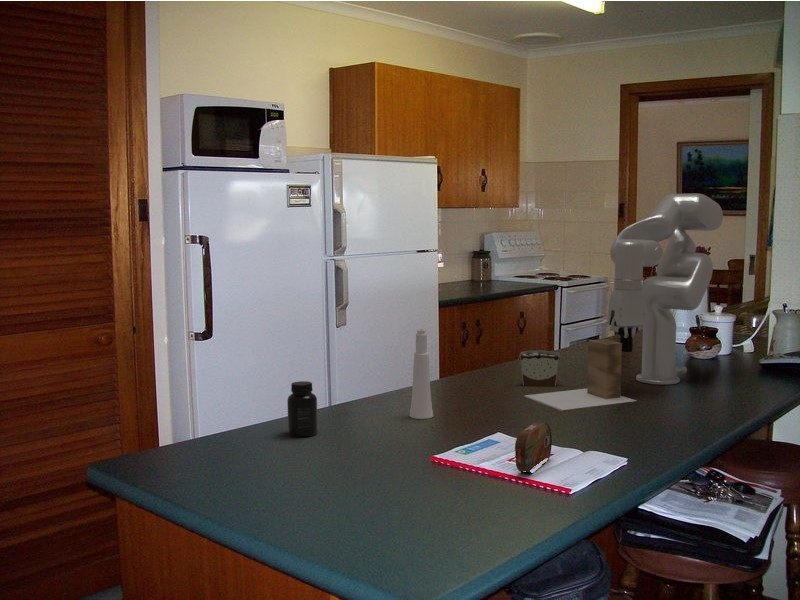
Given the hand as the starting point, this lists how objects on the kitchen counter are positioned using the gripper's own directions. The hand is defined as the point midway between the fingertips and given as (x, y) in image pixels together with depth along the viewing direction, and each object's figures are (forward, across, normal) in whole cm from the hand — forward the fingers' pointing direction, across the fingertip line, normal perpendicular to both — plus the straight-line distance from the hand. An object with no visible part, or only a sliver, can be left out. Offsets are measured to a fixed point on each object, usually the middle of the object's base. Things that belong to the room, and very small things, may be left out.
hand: (626, 351), depth 227 cm
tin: (+13, +59, +44) cm, 75 cm away
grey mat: (+12, +15, 0) cm, 20 cm away
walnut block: (+12, +7, 0) cm, 14 cm away
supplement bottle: (+13, +94, 0) cm, 95 cm away
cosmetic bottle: (+13, +62, -2) cm, 64 cm away
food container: (+12, +15, -20) cm, 28 cm away
